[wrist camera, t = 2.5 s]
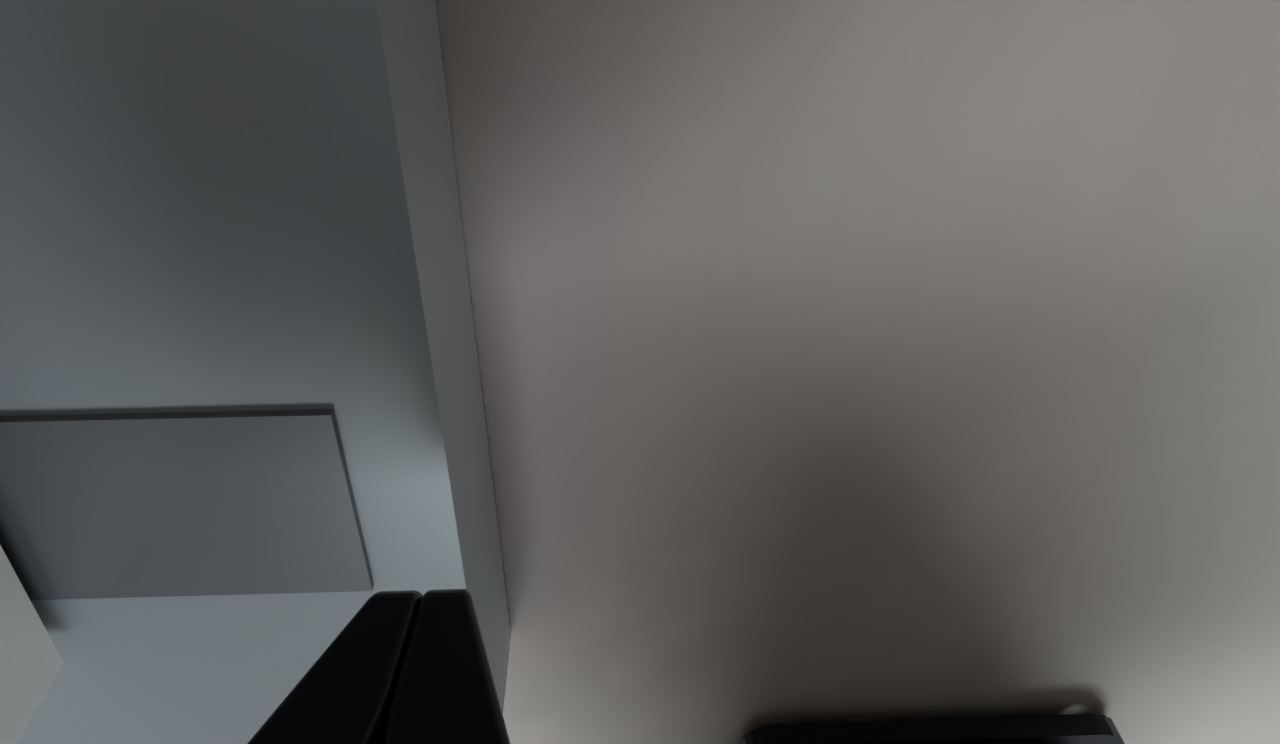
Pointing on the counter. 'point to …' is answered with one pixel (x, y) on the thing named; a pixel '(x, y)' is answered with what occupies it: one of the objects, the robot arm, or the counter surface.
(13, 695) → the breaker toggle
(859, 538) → the counter surface
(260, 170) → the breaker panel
